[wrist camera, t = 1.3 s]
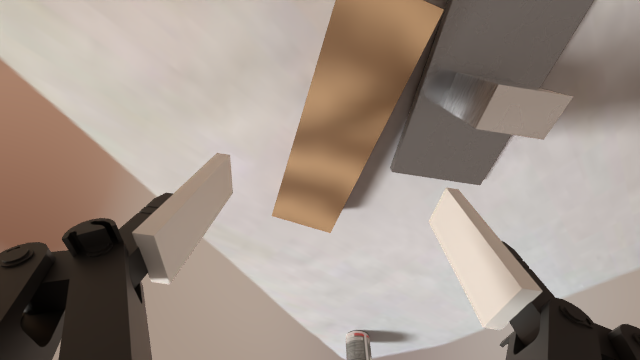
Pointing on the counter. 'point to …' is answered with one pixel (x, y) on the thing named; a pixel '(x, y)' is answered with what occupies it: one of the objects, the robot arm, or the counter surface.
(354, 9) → the board
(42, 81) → the counter surface
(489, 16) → the fulcrum
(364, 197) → the counter surface
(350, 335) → the pill bottle
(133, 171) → the counter surface
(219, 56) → the counter surface
